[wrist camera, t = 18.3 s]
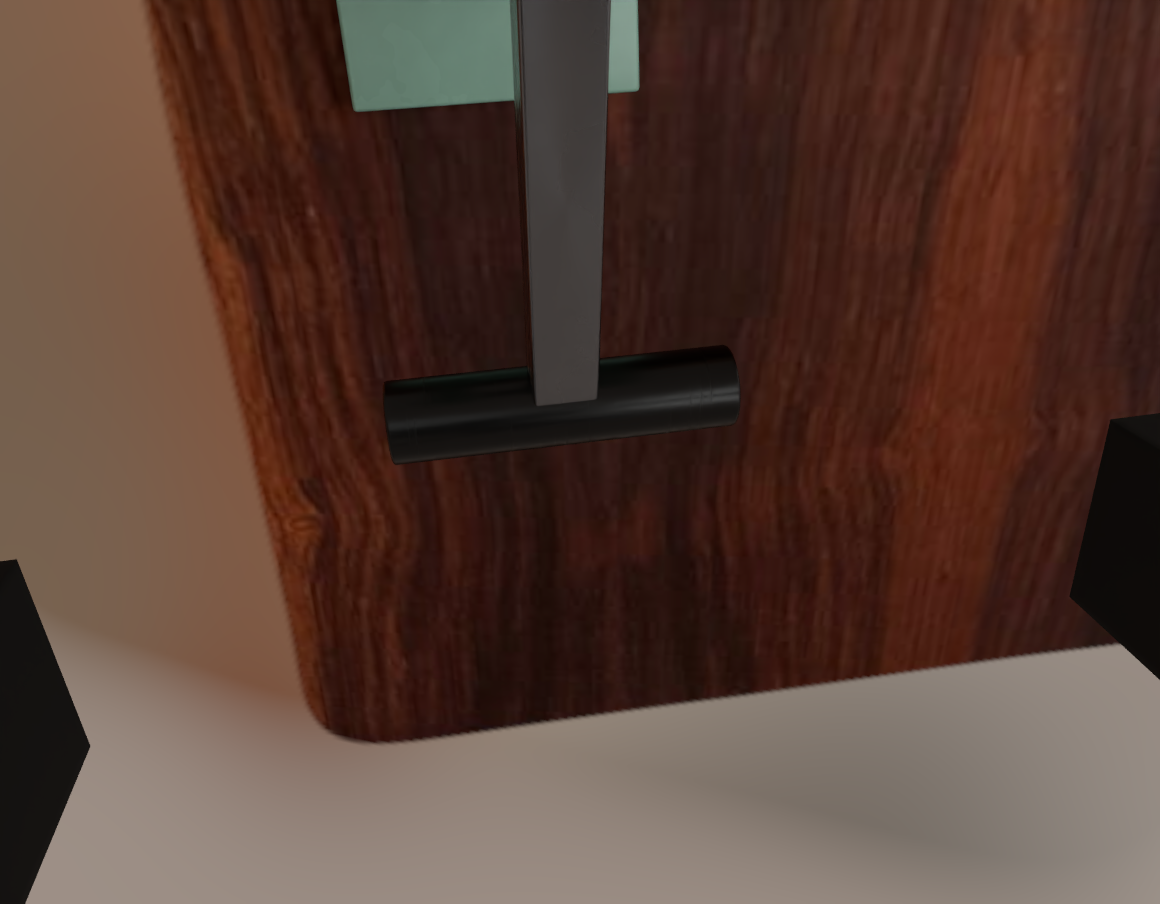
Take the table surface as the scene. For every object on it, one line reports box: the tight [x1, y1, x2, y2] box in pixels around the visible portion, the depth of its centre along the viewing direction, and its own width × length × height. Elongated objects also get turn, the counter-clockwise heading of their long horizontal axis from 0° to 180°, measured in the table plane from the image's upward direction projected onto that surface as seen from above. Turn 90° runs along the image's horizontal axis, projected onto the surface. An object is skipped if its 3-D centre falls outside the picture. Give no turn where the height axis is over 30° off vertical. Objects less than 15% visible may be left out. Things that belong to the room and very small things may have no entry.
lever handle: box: [383, 0, 740, 465], centre depth 12 cm, size 12×6×2 cm, turn 3°
